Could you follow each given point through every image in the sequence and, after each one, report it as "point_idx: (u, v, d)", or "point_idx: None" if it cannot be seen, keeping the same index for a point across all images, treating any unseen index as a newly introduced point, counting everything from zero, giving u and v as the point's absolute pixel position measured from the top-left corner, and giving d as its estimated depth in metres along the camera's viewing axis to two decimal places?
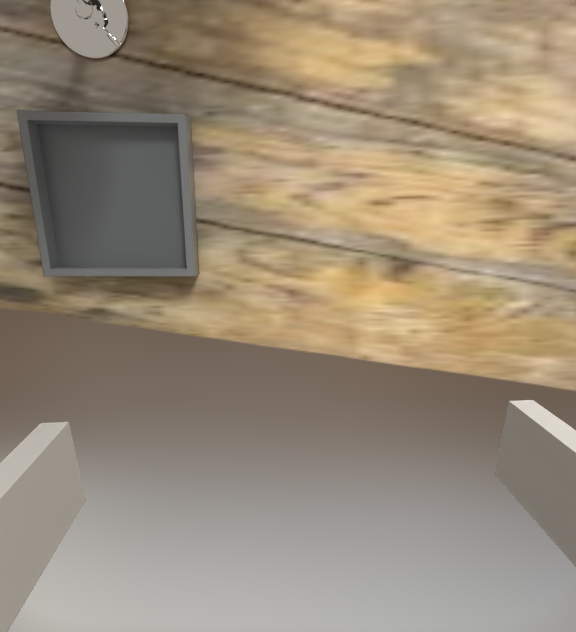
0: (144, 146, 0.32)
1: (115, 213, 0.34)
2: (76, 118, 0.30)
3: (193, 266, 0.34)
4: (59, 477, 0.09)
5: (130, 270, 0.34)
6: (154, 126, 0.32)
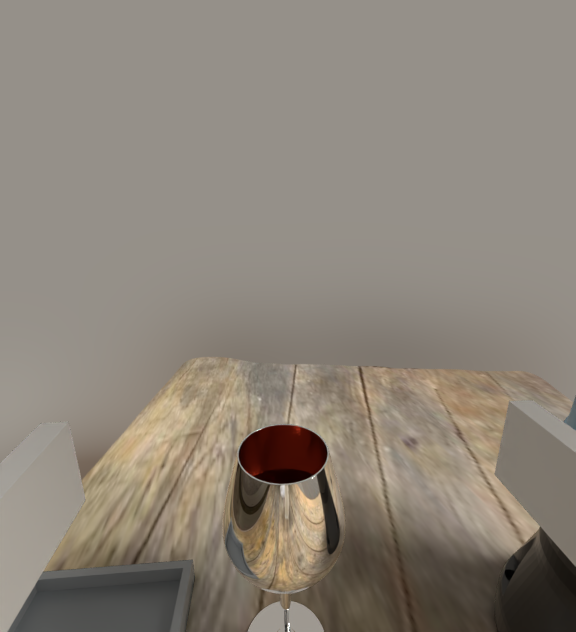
0: None
1: None
2: (174, 619, 0.27)
3: None
4: (59, 477, 0.09)
5: None
6: None
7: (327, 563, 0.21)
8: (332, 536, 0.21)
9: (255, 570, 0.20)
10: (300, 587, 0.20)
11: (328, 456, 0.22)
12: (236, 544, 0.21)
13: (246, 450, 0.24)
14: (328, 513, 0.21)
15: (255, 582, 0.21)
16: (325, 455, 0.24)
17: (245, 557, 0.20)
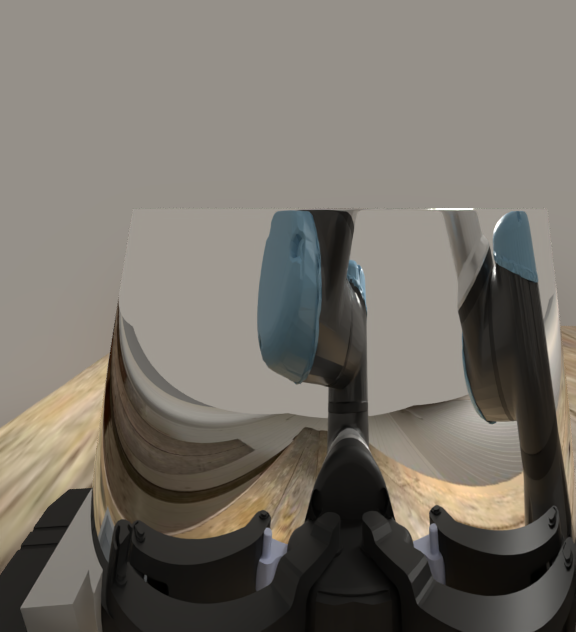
0: None
1: None
2: None
3: None
4: None
5: None
6: None
7: None
8: None
9: None
10: None
11: None
12: (107, 590, 0.04)
13: None
14: (569, 439, 0.04)
15: None
16: None
17: None
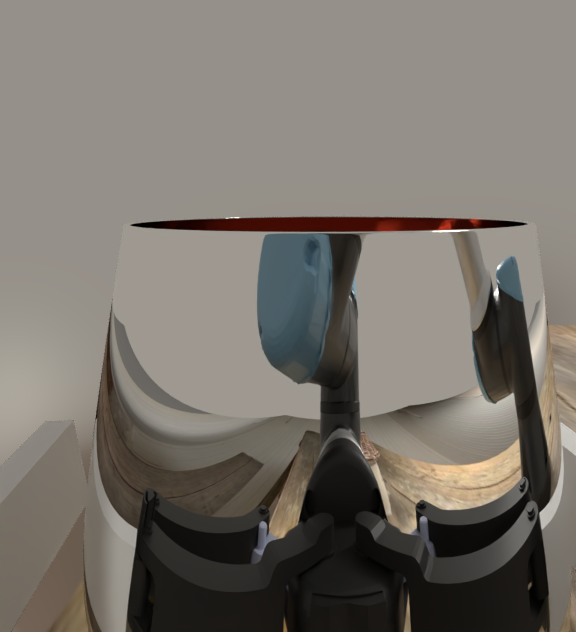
0: None
1: None
2: None
3: None
4: (64, 475, 0.09)
5: None
6: None
7: None
8: (569, 568, 0.04)
9: None
10: None
11: (515, 224, 0.05)
12: (99, 606, 0.04)
13: None
14: (559, 453, 0.04)
15: None
16: None
17: None
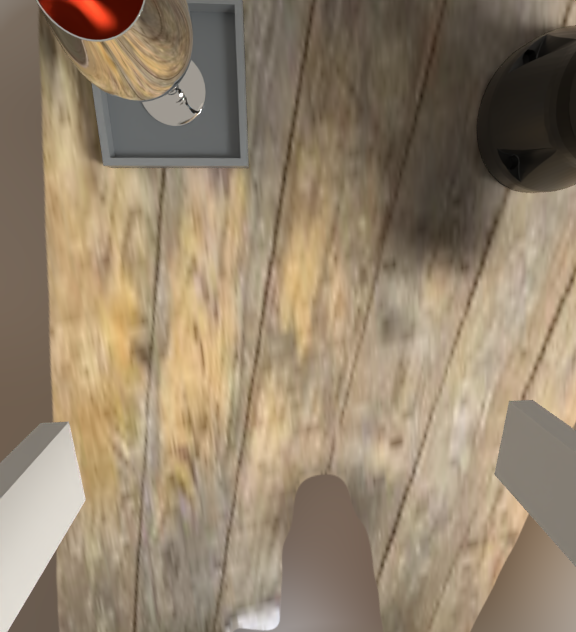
0: (223, 122, 0.35)
1: None
2: (238, 58, 0.33)
3: (113, 164, 0.35)
4: (59, 477, 0.09)
5: (99, 95, 0.33)
6: (240, 134, 0.36)
7: (169, 87, 0.23)
8: (169, 70, 0.22)
9: (102, 89, 0.23)
10: (149, 101, 0.24)
11: None
12: (76, 66, 0.22)
13: None
14: (158, 56, 0.21)
15: (108, 93, 0.24)
16: None
17: (89, 79, 0.22)
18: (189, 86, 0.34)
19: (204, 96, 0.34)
